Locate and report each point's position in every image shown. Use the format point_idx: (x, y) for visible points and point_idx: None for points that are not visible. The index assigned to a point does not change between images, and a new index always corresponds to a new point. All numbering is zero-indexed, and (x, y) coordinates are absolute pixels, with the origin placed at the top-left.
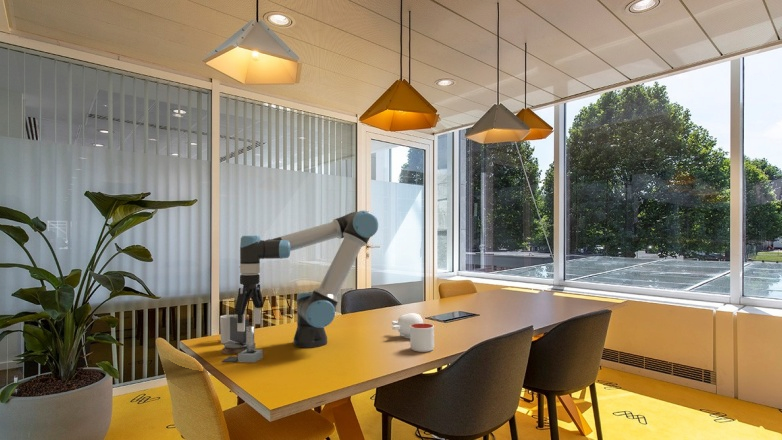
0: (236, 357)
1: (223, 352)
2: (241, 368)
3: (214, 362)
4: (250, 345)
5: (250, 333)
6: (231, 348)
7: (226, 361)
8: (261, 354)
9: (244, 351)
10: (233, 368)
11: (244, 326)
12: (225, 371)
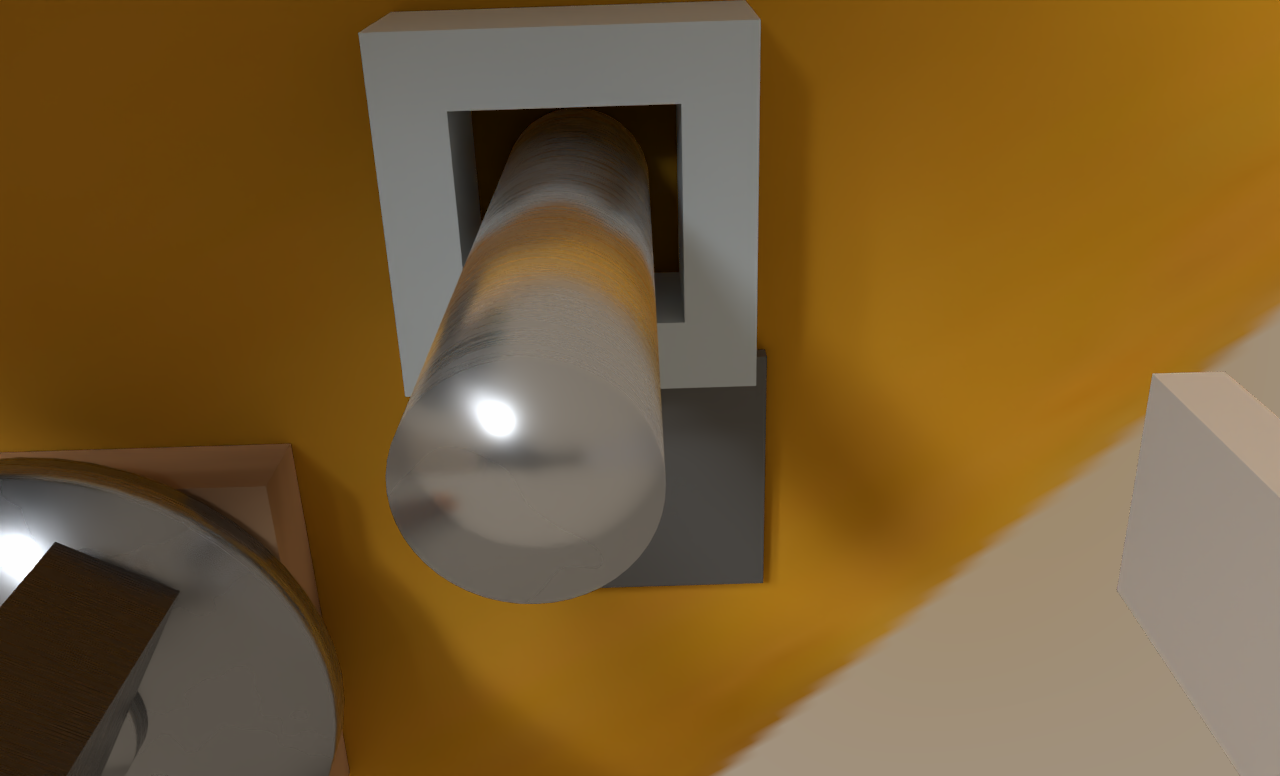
0: None
1: (342, 768)
2: (1105, 77)
3: (796, 654)
4: (644, 229)
5: (648, 339)
6: (339, 695)
7: (763, 508)
8: (432, 20)
9: None
10: (1100, 220)
11: (1277, 455)
12: (1255, 269)
